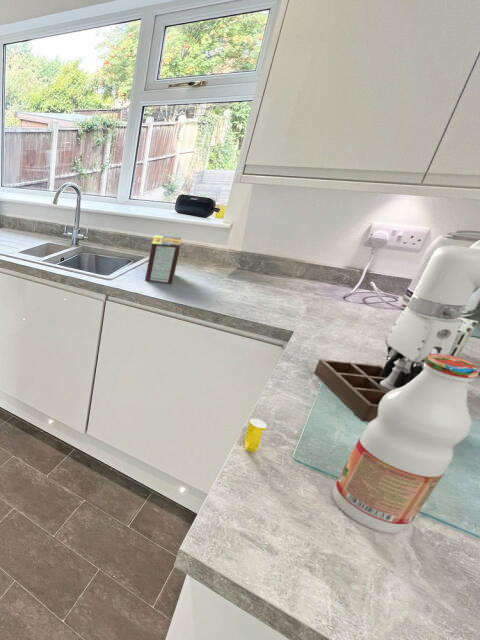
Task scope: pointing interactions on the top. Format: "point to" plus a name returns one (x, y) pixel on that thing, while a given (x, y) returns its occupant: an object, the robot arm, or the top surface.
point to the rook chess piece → (393, 375)
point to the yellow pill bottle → (254, 434)
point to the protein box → (163, 259)
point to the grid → (354, 385)
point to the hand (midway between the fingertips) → (395, 381)
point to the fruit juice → (407, 446)
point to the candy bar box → (462, 335)
